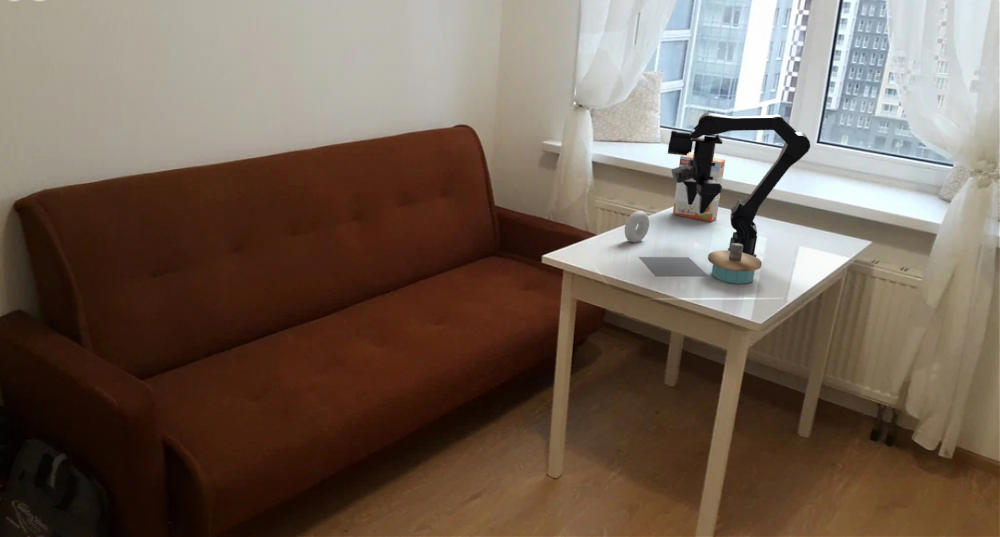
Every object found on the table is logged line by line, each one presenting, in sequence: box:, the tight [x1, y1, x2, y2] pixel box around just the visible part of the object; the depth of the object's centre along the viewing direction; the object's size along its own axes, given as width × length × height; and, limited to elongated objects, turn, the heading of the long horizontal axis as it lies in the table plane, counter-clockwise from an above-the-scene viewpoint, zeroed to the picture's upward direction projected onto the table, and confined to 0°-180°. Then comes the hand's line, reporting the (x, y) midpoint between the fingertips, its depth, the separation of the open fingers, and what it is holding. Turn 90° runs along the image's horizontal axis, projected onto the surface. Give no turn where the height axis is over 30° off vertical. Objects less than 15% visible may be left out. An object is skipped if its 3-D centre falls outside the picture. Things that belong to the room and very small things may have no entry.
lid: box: [707, 243, 763, 271], centre depth 204 cm, size 14×14×5 cm
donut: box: [624, 210, 650, 243], centre depth 230 cm, size 10×4×10 cm, turn 133°
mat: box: [638, 256, 709, 277], centre depth 212 cm, size 15×15×1 cm
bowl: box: [711, 264, 756, 285], centre depth 206 cm, size 11×11×5 cm
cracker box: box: [672, 153, 726, 223], centre depth 258 cm, size 14×6×21 cm, turn 58°
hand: (695, 208), depth 226 cm, fingers open, 9 cm apart
